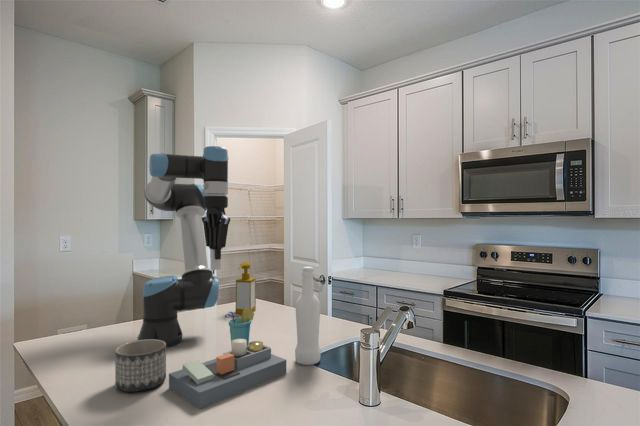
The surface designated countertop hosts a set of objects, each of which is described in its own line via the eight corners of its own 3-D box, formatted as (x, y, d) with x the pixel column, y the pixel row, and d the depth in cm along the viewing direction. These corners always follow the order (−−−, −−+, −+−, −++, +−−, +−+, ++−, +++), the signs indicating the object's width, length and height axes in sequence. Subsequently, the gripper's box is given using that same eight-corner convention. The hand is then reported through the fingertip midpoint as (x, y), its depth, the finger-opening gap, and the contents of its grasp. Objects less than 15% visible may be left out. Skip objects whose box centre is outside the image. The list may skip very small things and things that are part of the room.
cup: (235, 362, 121) (235, 314, 121) (215, 358, 125) (215, 312, 124) (259, 347, 134) (259, 305, 134) (241, 344, 137) (241, 302, 137)
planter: (130, 374, 112) (130, 338, 112) (173, 375, 112) (173, 339, 112) (105, 395, 100) (105, 355, 100) (153, 395, 99) (153, 355, 99)
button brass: (245, 355, 115) (245, 343, 115) (257, 351, 118) (257, 340, 118) (254, 358, 112) (254, 346, 112) (265, 354, 115) (265, 343, 115)
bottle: (301, 368, 117) (301, 269, 117) (291, 358, 124) (291, 266, 124) (325, 363, 121) (325, 267, 121) (313, 354, 128) (313, 264, 128)
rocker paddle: (182, 369, 102) (182, 364, 102) (197, 364, 105) (198, 359, 105) (197, 384, 97) (198, 379, 96) (212, 378, 100) (213, 373, 100)
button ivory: (228, 353, 110) (228, 341, 110) (240, 349, 113) (240, 337, 113) (237, 357, 107) (237, 344, 107) (249, 353, 110) (249, 340, 110)
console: (168, 388, 103) (168, 363, 103) (253, 359, 124) (253, 338, 124) (199, 409, 93) (199, 381, 92) (286, 373, 113) (286, 350, 113)
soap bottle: (231, 316, 174) (231, 264, 174) (241, 309, 186) (241, 261, 186) (246, 317, 172) (246, 265, 172) (255, 310, 185) (255, 261, 185)
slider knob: (216, 371, 103) (216, 357, 103) (229, 367, 106) (229, 353, 106) (221, 374, 101) (221, 359, 101) (234, 370, 104) (234, 355, 104)
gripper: (194, 195, 124) (194, 268, 124) (216, 194, 115) (216, 273, 116) (214, 196, 130) (214, 266, 130) (237, 195, 121) (237, 270, 121)
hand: (215, 269), depth 123 cm, fingers closed
